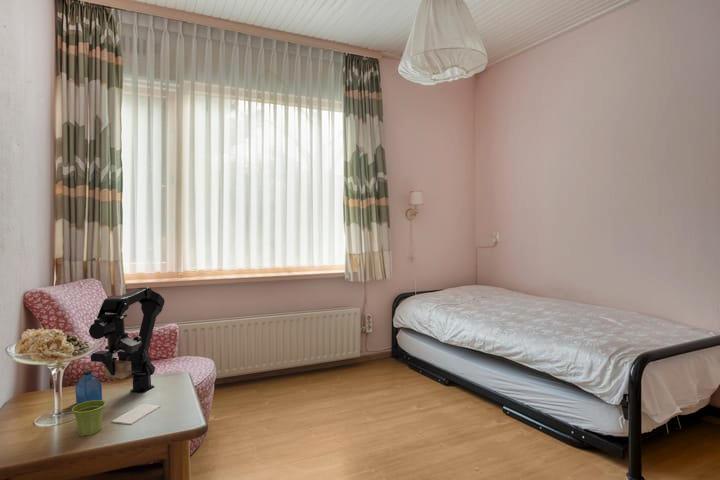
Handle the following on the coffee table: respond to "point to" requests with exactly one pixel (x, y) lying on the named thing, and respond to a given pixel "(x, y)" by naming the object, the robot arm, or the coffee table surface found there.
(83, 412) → the plant pot
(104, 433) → the coffee table surface
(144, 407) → the placemat
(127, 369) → the walnut block
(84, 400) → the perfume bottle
